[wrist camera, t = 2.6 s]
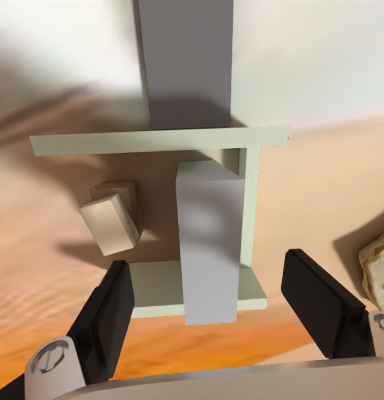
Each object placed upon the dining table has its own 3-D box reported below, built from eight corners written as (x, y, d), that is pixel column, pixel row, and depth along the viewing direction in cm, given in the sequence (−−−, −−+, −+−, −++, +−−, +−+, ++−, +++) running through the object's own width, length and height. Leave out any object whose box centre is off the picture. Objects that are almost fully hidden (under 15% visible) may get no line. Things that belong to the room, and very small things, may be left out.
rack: (82, 137, 16) (28, 135, 11) (253, 130, 17) (289, 125, 11) (113, 272, 21) (87, 321, 15) (244, 264, 22) (266, 308, 16)
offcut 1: (104, 181, 18) (90, 189, 15) (137, 180, 18) (128, 187, 15) (114, 231, 20) (103, 246, 17) (143, 229, 20) (137, 244, 17)
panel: (131, -75, 12) (129, -85, 12) (233, -75, 12) (235, -85, 12) (152, 129, 16) (151, 129, 16) (228, 127, 16) (229, 126, 16)
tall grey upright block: (179, 161, 17) (175, 182, 9) (214, 160, 18) (244, 179, 9) (184, 249, 21) (185, 325, 12) (214, 247, 21) (236, 322, 12)
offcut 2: (91, 200, 15) (78, 209, 13) (119, 192, 15) (110, 199, 13) (113, 242, 17) (104, 256, 15) (139, 235, 17) (133, 247, 15)
